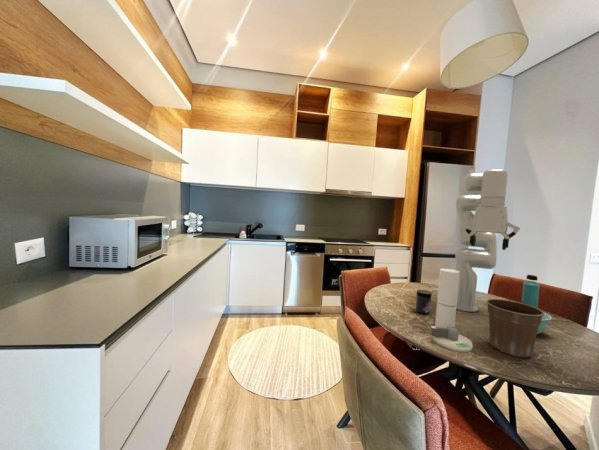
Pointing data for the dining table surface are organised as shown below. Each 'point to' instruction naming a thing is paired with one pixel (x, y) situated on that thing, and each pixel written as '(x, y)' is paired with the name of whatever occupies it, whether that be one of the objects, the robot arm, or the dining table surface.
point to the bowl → (544, 323)
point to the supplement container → (423, 302)
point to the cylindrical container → (447, 298)
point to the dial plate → (454, 343)
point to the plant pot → (513, 326)
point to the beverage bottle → (530, 292)
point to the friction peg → (445, 332)
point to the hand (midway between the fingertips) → (487, 247)
